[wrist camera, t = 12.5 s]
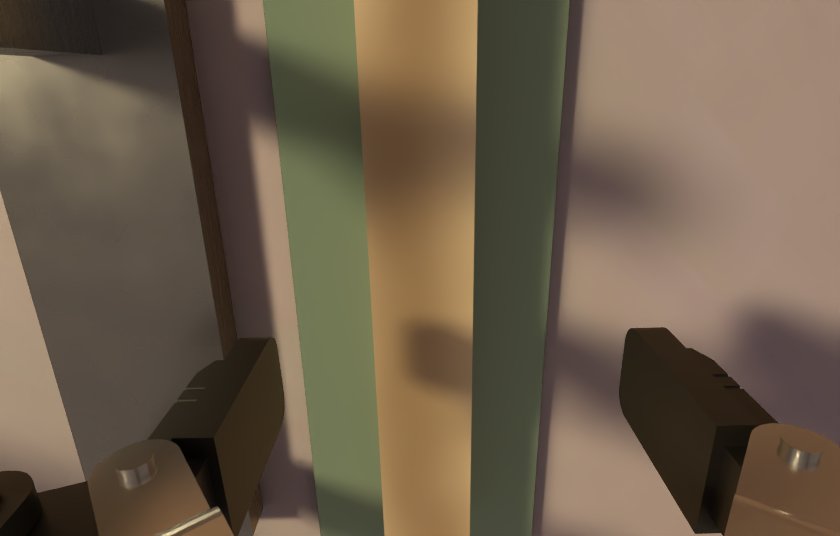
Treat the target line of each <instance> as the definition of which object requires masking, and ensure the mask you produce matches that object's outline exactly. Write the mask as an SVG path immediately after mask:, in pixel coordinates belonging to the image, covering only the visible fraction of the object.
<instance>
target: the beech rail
mask: <svg viewBox="0 0 840 536" xmlns="http://www.w3.org/2000/svg"><path fill="white" fill-rule="evenodd" d="M354 15H355V32H356V49H357V67H358V84H359V102H360V119H361V136H362V154H363V171H364V188H365V206H366V223H367V240H368V258H369V275H370V292H371V310H372V327H373V344H374V362H375V379H376V396H377V414H378V431H379V448H380V466H381V483H382V501H383V518H384V535H385V536H470V483H471V416H472V350H473V283H474V216H475V149H476V82H477V15H478V0H354Z"/></svg>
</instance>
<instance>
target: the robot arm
mask: <svg viewBox="0 0 840 536" xmlns="http://www.w3.org/2000/svg"><path fill="white" fill-rule="evenodd" d="M619 398H620V404H621V408H622V412H623V414H624V416H625V418H626V420H627V421H628V423H629V425H630V426H631V428H632V430H633V431H634V433H635V435H636V436H637V438H638V440H639V441H640V443H641V445H642V446H643V448H644V450H645V451H646V453H647V455H648V456H649V458H650V460H651V461H652V463H653V465H654V466H655V468H656V470H657V471H658V473H659V475H660V476H661V478H662V480H663V481H664V483H665V485H666V486H667V488H668V490H669V491H670V493H671V495H672V496H673V498H674V500H675V501H676V503H677V505H678V506H679V508H680V510H681V511H682V513H683V514H684V516H685V518H686V519H687V521H688V523H689V524H690V526H691V528H692V529H693V531H694V533H695V534H701V533H722V535H723V536H840V446H838V445H837V444H835V443H834V442H832V441H831V440H829V439H828V438H826V437H824V436H822V435H820V434H818V433H815V432H813V431H810V430H807V429H804V428H801V427H797V426H794V425H788V424H780V423H778V422H777V421H775V420H774V419H773V418H772V417H771V416H770V415H769V414H768V413H767V412H766V411H765V410H764V409H763V408H762V407H761V406H760V405H759V404H758V403H757V402H756V401H755V400H754V399H753V398H752V397H751V396H750V395H749V394H748V393H747V392H746V391H745V390H744V389H740V386H739V385H738V384H737V383H736V382H735V381H734V380H733V379H732V378H731V377H728V374H727V373H726V372H725V371H724V370H723V369H722V368H721V367H720V366H719V365H718V364H717V363H716V362H715V361H714V360H712V359H710V358H708V357H707V356H705V355H703V354H701V353H699V352H697V351H696V350H694V349H692V348H685V347H684V346H683V344H682V343H681V342H680V341H679V340H678V339H677V338H676V337H675V336H674V335H673V334H672V333H671V332H670V331H669V330H668V329H667V328H663V327H661V328H631V329H629V330H628V332H627V334H626V338H625V345H624V353H623V362H622V370H621V378H620V386H619ZM283 416H284V392H283V384H282V377H281V370H280V363H279V356H278V349H277V344H276V341H275V339H274V338H272V337H268V338H240V339H238V341H237V342H236V343H235V345H234V346H233V348H232V349H231V351H230V352H229V354H228V355H227V357H226V358H225V359H224V360H215V361H214V362H212V363H211V364H209V365H208V366H206V367H205V368H203V369H202V370H200V371H199V372H198V373H196V375H195V376H194V377H193V379H192V380H191V381H190V383H189V384H188V386H187V387H186V390H184V391H183V392H182V394H181V395H180V396H179V398H178V399H177V403H174V404H173V406H172V407H171V408H170V410H169V411H168V412H167V414H166V415H165V416H164V418H163V419H162V421H161V422H160V423H159V425H158V426H157V427H156V429H155V430H154V431H153V433H152V434H151V435H150V437H149V438H148V439H147V440H144V441H140V442H136V443H133V444H130V445H127V446H125V447H123V448H120V449H119V450H117V451H115V452H113V453H111V454H110V455H108V456H107V457H106V458H104V459H103V460H102V461H101V462H100V463H99V464H98V465H96V467H95V468H94V469H93V470H92V472H91V474H90V476H89V479H88V481H86V482H82V483H78V484H74V485H70V486H65V487H61V488H57V489H53V490H49V491H45V492H40V493H37V491H36V489H35V486H34V483H33V480H32V478H31V477H30V476H29V475H28V474H27V473H24V472H21V471H2V472H0V536H238V534H239V532H240V529H241V527H242V524H243V522H244V519H245V517H246V514H247V511H248V509H249V506H250V504H251V501H252V499H253V496H254V494H255V491H256V489H257V486H258V483H259V481H260V478H261V476H262V473H263V471H264V468H265V466H266V463H267V460H268V458H269V455H270V453H271V450H272V448H273V445H274V443H275V440H276V437H277V435H278V432H279V430H280V427H281V425H282V421H283Z"/></svg>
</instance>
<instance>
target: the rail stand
mask: <svg viewBox="0 0 840 536" xmlns="http://www.w3.org/2000/svg"><path fill="white" fill-rule="evenodd" d="M0 191H1V194H2V198H3V201H4V204H5V208H6V211H7V215H8V218H9V221H10V225H11V228H12V232H13V235H14V238H15V242H16V245H17V249H18V252H19V255H20V259H21V262H22V266H23V269H24V272H25V276H26V279H27V283H28V286H29V289H30V293H31V296H32V300H33V303H34V306H35V310H36V313H37V317H38V320H39V323H40V327H41V330H42V334H43V337H44V340H45V344H46V347H47V350H48V354H49V357H50V361H51V364H52V367H53V371H54V374H55V378H56V381H57V384H58V388H59V391H60V395H61V398H62V401H63V405H64V408H65V412H66V415H67V418H68V422H69V425H70V429H71V432H72V435H73V439H74V442H75V446H76V449H77V452H78V456H79V459H80V463H81V466H82V469H83V473H84V476H85V480H86V481H88V479H89V476H90V474H91V472H92V470H93V469H94V468H95V467H96V465H98V464H99V463H100V462H101V461H102V460H103V459H104V458H106V457H107V456H108V455H110V454H111V453H113V452H115V451H117V450H119V449H120V448H123V447H125V446H127V445H130V444H133V443H136V442H140V441H144V440H147V439H148V438H149V437H150V435H151V434H152V433H153V431H154V430H155V429H156V427H157V426H158V425H159V423H160V422H161V421H162V419H163V418H164V416H165V415H166V414H167V412H168V411H169V410H170V408H171V407H172V406H173V404H174V403H177V399H178V398H179V396H180V395H181V394H182V392H183V391H184V390H186V387H187V386H188V384H189V383H190V381H191V380H192V379H193V377H194V376H195V375H196V373H198V372H199V371H200V370H202V369H203V368H205V367H206V366H208V365H209V364H211V363H212V362H214V361H215V360H224V359H225V358H226V357H227V355H228V354H229V352H230V351H231V349H232V348H233V346H234V345H235V343H236V342H237V336H236V330H235V323H234V317H233V310H232V304H231V297H230V291H229V284H228V278H227V271H226V265H225V258H224V251H223V245H222V238H221V232H220V225H219V219H218V212H217V206H216V199H215V193H214V186H213V180H212V173H211V167H210V160H209V154H208V147H207V141H206V134H205V128H204V121H203V115H202V108H201V102H200V95H199V89H198V82H197V76H196V69H195V63H194V56H193V50H192V43H191V37H190V30H189V24H188V17H187V11H186V4H185V0H0ZM262 509H263V505H262V499H261V492H260V486H259V483H258V486H257V489H256V491H255V494H254V496H253V499H252V501H251V504H250V506H249V509H248V511H247V514H246V517H245V519H244V522H243V524H242V527H241V529H240V532H239V534H238V536H253V535H254V532H255V529H256V526H257V523H258V520H259V517H260V515H261V512H262Z"/></svg>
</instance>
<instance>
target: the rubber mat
mask: <svg viewBox="0 0 840 536" xmlns="http://www.w3.org/2000/svg"><path fill="white" fill-rule="evenodd" d="M569 2H570V0H478V15H477V82H476V149H475V216H474V283H473V350H472V416H471V483H470V536H531V534H532V520H533V506H534V492H535V478H536V464H537V450H538V436H539V422H540V408H541V394H542V380H543V366H544V352H545V338H546V324H547V310H548V296H549V282H550V268H551V254H552V240H553V226H554V212H555V198H556V184H557V170H558V156H559V142H560V128H561V114H562V100H563V86H564V72H565V58H566V44H567V30H568V16H569ZM263 6H264V15H265V25H266V34H267V43H268V52H269V62H270V71H271V80H272V89H273V99H274V108H275V117H276V126H277V136H278V145H279V154H280V163H281V173H282V182H283V191H284V200H285V210H286V219H287V228H288V238H289V247H290V256H291V265H292V275H293V284H294V293H295V302H296V312H297V321H298V330H299V339H300V349H301V358H302V367H303V376H304V386H305V395H306V404H307V413H308V423H309V432H310V441H311V450H312V460H313V469H314V478H315V487H316V497H317V506H318V515H319V524H320V534H321V536H385V535H384V518H383V501H382V483H381V466H380V448H379V431H378V414H377V396H376V379H375V362H374V344H373V327H372V310H371V292H370V275H369V258H368V240H367V223H366V206H365V188H364V171H363V154H362V136H361V119H360V102H359V84H358V67H357V49H356V32H355V15H354V0H263Z"/></svg>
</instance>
